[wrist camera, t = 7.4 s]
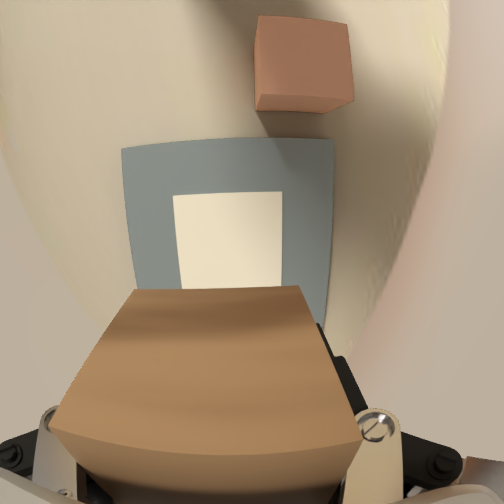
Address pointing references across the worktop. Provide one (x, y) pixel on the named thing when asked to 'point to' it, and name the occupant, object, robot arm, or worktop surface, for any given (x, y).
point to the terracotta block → (301, 65)
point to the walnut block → (211, 401)
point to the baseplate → (232, 214)
